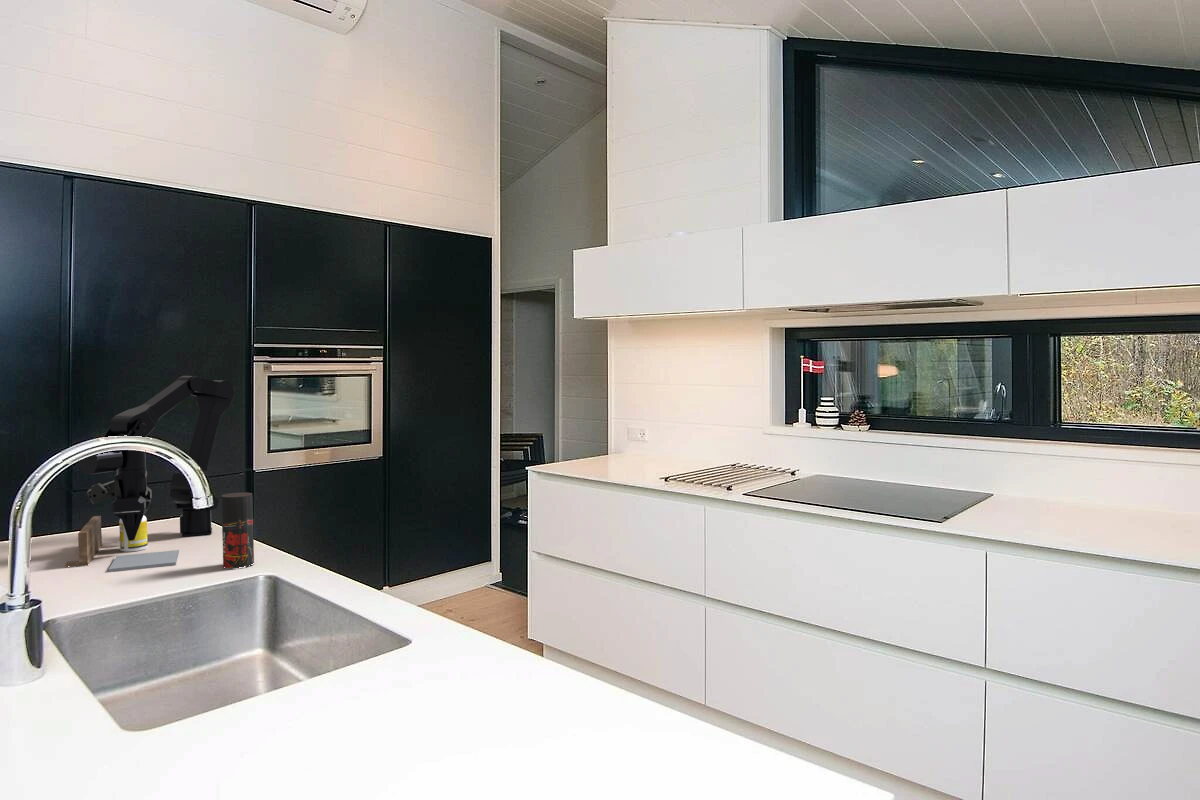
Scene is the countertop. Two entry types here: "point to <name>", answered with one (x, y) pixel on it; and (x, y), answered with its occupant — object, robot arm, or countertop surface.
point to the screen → (88, 542)
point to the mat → (144, 560)
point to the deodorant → (237, 529)
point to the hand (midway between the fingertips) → (133, 536)
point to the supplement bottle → (139, 540)
